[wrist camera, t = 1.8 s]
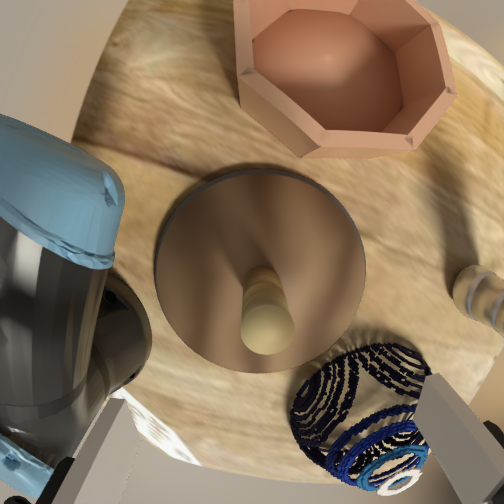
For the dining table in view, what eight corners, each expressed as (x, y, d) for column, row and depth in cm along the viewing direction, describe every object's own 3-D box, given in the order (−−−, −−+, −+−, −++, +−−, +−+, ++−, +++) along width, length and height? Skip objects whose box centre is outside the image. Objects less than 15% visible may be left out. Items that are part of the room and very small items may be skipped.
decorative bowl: (263, 436, 36) (267, 521, 22) (345, 321, 32) (397, 401, 18) (370, 458, 38) (395, 522, 24) (449, 365, 34) (503, 423, 20)
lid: (174, 370, 33) (151, 435, 22) (148, 183, 28) (96, 183, 17) (354, 359, 32) (388, 419, 22) (361, 172, 28) (417, 167, 17)
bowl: (243, 160, 28) (240, 149, 19) (235, 6, 24) (230, -43, 15) (413, 161, 28) (464, 156, 19) (390, 18, 24) (424, -18, 15)
